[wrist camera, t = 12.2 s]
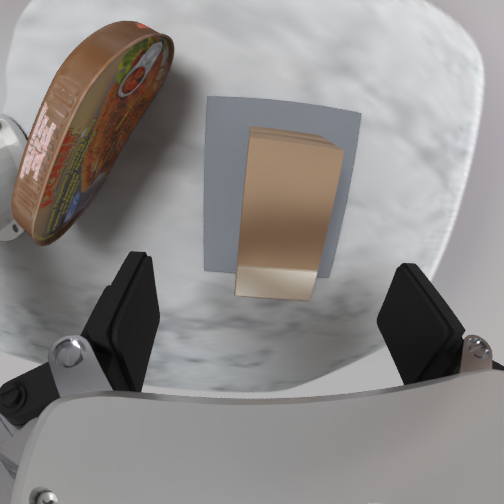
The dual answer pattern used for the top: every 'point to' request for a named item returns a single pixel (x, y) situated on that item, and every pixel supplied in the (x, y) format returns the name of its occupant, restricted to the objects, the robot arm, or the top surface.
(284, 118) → the mat
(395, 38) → the top surface
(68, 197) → the tin
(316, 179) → the card box
